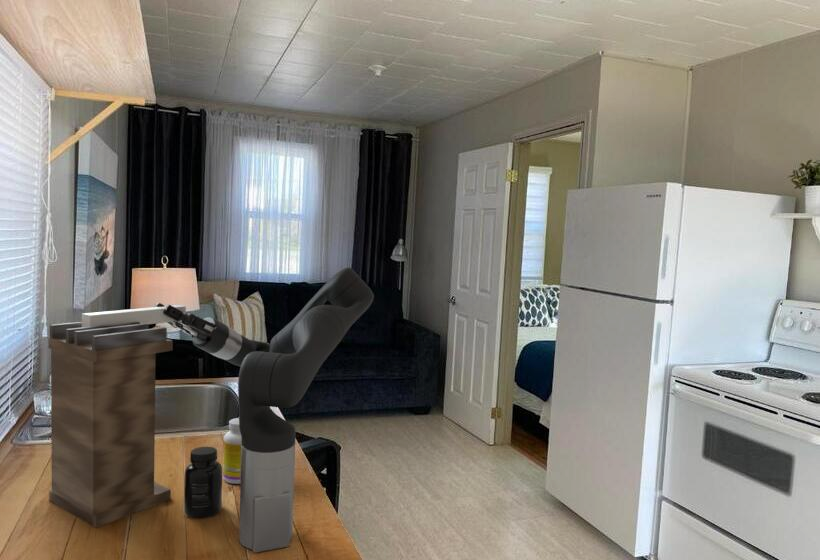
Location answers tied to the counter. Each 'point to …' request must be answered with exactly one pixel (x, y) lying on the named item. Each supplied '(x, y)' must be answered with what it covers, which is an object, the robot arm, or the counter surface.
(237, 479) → the supplement bottle
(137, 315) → the bar
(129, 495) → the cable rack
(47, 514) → the counter surface
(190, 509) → the supplement bottle
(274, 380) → the robot arm
